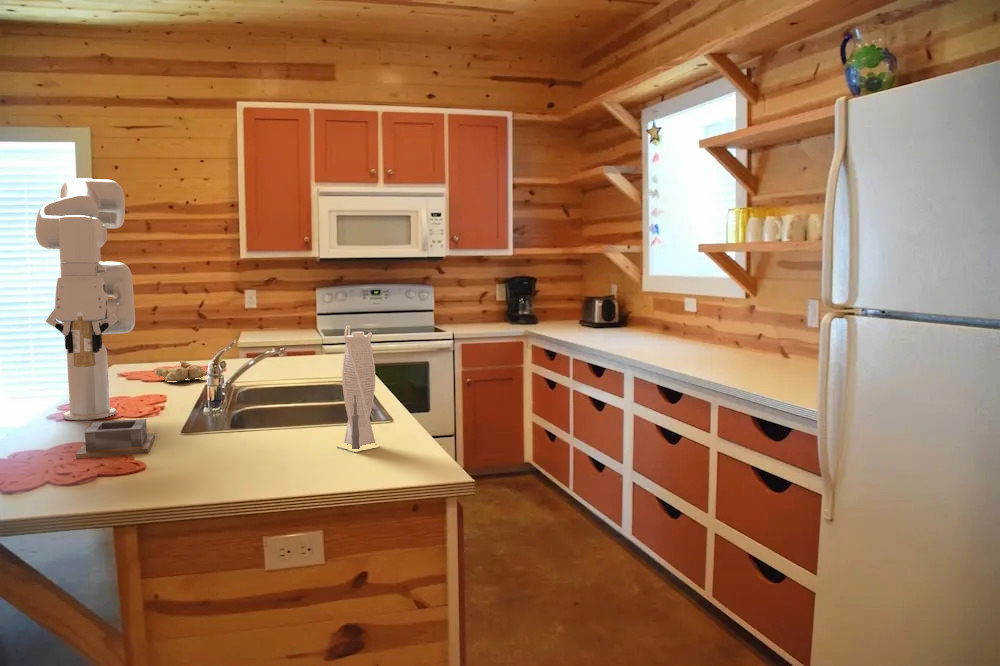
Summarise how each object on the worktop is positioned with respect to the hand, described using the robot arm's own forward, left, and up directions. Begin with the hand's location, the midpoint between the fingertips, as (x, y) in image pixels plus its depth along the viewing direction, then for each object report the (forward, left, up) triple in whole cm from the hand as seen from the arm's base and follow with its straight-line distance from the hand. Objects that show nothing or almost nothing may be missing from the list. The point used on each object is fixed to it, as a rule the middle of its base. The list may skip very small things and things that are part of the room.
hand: (84, 351), depth 169 cm
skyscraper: (+20, +59, -22) cm, 66 cm away
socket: (+4, +7, -22) cm, 23 cm away
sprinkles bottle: (0, 0, -4) cm, 4 cm away
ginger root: (-89, +14, -22) cm, 93 cm away
